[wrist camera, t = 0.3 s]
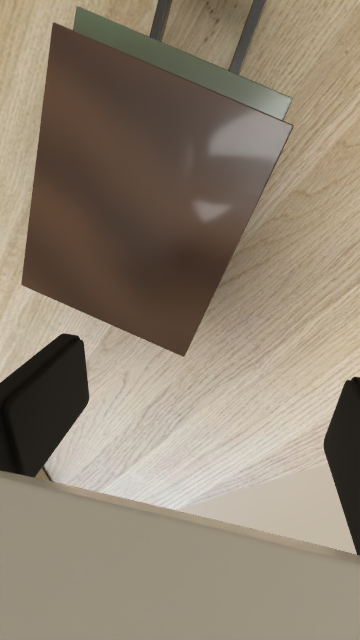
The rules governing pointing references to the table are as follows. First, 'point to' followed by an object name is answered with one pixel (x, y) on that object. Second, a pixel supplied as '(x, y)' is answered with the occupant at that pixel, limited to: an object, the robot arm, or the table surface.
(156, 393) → the table surface
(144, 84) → the cabinet
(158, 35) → the drawer
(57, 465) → the table surface
